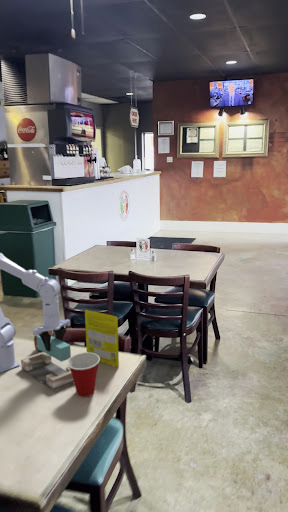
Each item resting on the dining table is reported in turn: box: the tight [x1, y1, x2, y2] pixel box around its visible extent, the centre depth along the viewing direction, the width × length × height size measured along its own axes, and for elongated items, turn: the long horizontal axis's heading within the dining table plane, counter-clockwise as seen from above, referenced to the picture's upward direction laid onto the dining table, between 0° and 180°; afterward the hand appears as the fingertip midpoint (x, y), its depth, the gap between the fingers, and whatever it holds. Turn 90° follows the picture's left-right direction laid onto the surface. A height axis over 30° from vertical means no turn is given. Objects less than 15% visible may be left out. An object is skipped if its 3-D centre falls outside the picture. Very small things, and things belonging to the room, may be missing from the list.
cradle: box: [20, 351, 74, 392], centre depth 158 cm, size 22×10×4 cm, turn 43°
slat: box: [37, 335, 72, 362], centre depth 160 cm, size 16×4×5 cm, turn 44°
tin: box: [33, 330, 55, 352], centre depth 182 cm, size 15×3×8 cm, turn 168°
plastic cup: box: [66, 351, 100, 398], centre depth 145 cm, size 11×11×12 cm
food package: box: [84, 309, 120, 368], centre depth 165 cm, size 15×1×20 cm, turn 58°
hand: (53, 348), depth 160 cm, fingers closed on slat, 4 cm apart
